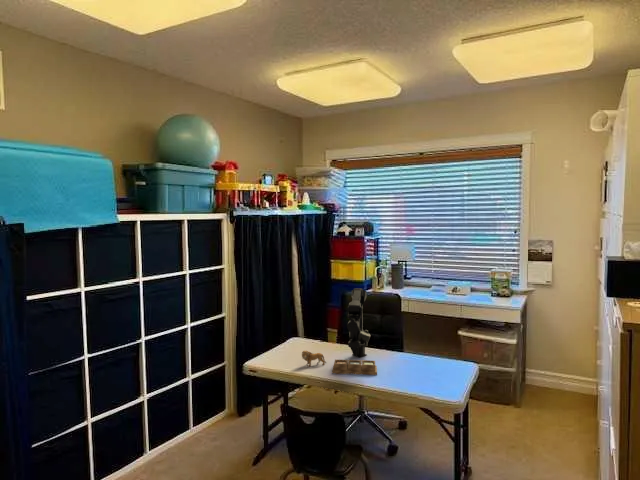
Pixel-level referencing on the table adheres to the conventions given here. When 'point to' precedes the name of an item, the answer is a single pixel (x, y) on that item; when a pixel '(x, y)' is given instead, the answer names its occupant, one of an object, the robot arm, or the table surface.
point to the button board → (355, 367)
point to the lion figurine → (312, 357)
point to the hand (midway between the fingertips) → (354, 355)
